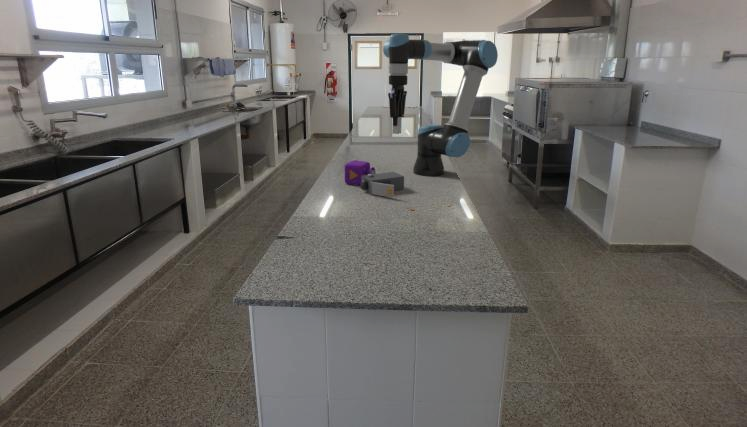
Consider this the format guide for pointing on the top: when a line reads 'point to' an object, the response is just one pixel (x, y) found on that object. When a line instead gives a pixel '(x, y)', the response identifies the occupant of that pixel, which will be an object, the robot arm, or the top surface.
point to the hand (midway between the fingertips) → (396, 133)
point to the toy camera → (357, 171)
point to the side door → (382, 189)
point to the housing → (382, 180)
